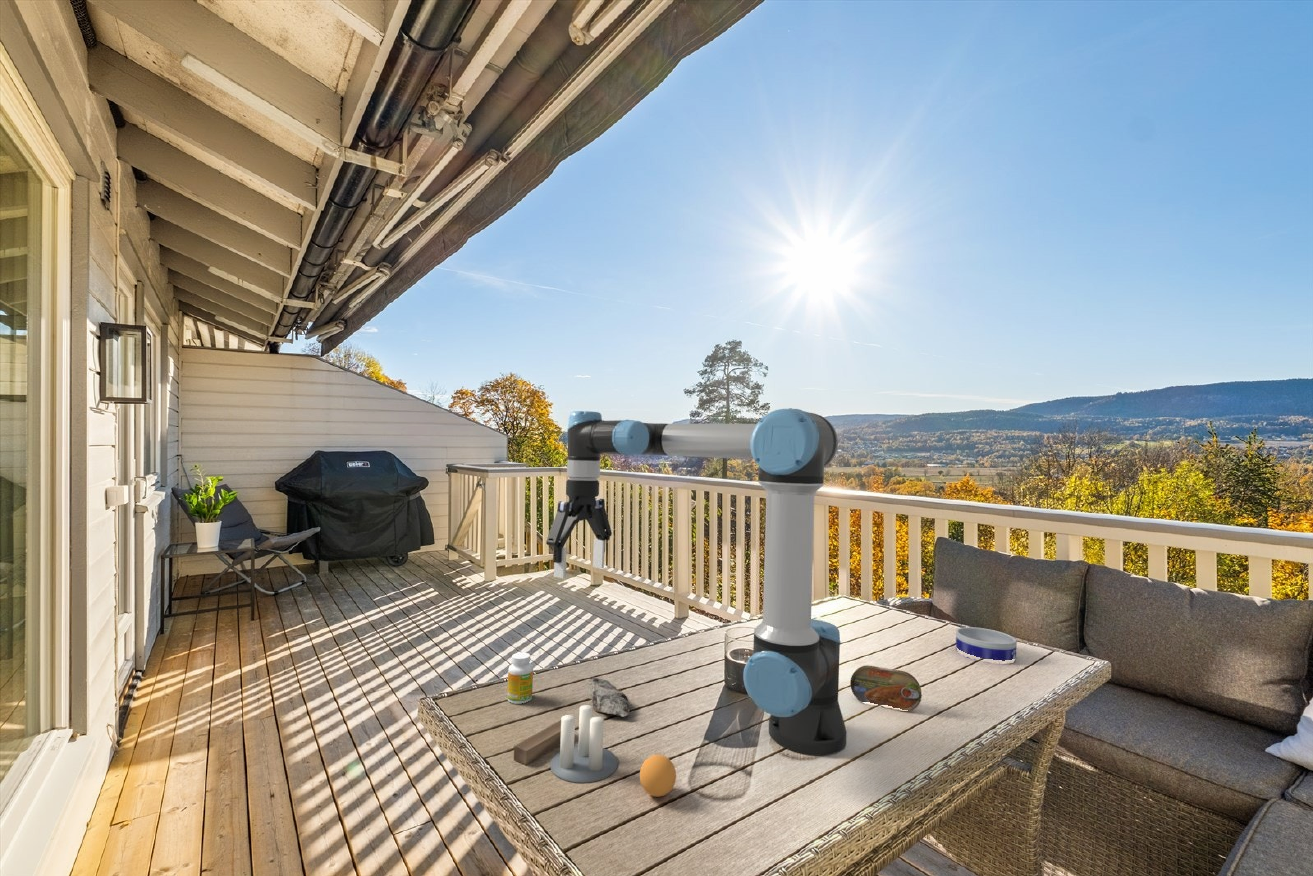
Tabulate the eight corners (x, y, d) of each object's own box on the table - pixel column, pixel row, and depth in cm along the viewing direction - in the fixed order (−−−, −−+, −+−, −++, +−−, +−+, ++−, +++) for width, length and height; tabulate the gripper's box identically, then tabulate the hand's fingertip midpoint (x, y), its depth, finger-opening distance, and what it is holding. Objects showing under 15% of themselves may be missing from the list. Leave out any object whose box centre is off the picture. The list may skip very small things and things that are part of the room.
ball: (682, 791, 97) (683, 755, 97) (663, 809, 92) (664, 771, 92) (651, 779, 100) (653, 744, 100) (631, 796, 95) (633, 759, 95)
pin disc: (630, 759, 106) (631, 758, 106) (589, 791, 96) (589, 790, 96) (580, 740, 113) (580, 739, 113) (535, 767, 103) (536, 766, 103)
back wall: (573, 736, 114) (574, 723, 114) (525, 765, 103) (526, 751, 103) (562, 731, 116) (562, 719, 116) (513, 760, 105) (514, 746, 105)
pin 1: (576, 765, 104) (577, 717, 104) (567, 771, 102) (568, 722, 102) (565, 761, 105) (567, 713, 105) (556, 767, 103) (558, 718, 103)
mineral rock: (634, 721, 122) (634, 699, 122) (596, 724, 120) (597, 702, 120) (620, 692, 136) (620, 673, 136) (586, 694, 134) (586, 675, 134)
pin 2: (593, 753, 108) (595, 707, 108) (585, 759, 106) (587, 712, 106) (583, 749, 109) (585, 704, 109) (575, 755, 107) (576, 708, 107)
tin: (849, 701, 135) (850, 664, 135) (851, 696, 137) (852, 660, 138) (921, 716, 128) (922, 677, 128) (921, 710, 131) (922, 672, 131)
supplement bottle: (520, 706, 126) (522, 661, 126) (501, 700, 129) (503, 656, 129) (537, 697, 131) (538, 654, 131) (518, 692, 133) (520, 649, 134)
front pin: (604, 767, 103) (606, 719, 104) (596, 773, 101) (598, 724, 102) (594, 763, 105) (595, 715, 105) (585, 769, 103) (587, 720, 103)
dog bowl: (967, 643, 180) (967, 623, 180) (1023, 657, 169) (1023, 636, 169) (947, 654, 170) (947, 633, 170) (1006, 669, 158) (1006, 647, 158)
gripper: (603, 476, 146) (600, 561, 145) (531, 479, 125) (528, 579, 124) (627, 478, 142) (625, 566, 141) (558, 481, 121) (554, 584, 120)
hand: (579, 572), depth 133 cm, fingers open, 13 cm apart
